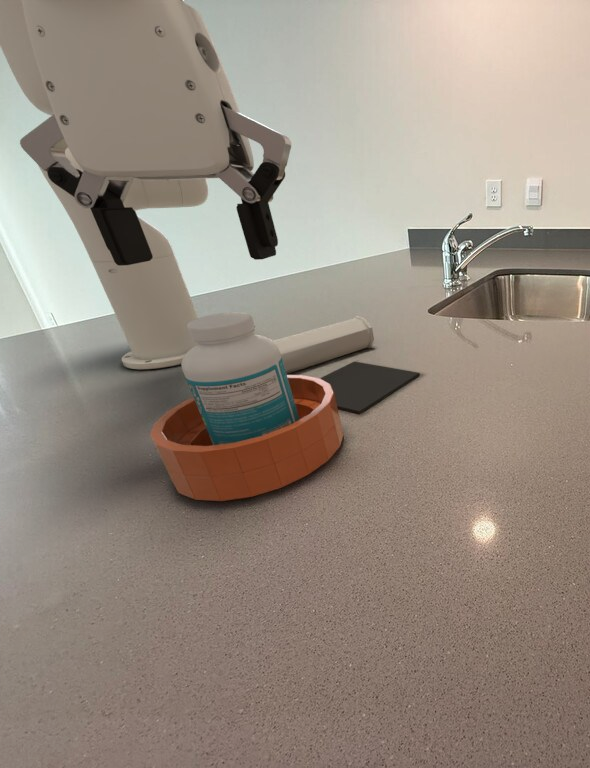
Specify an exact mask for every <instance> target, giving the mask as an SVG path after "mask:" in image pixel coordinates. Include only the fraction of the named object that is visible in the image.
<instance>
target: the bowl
mask: <svg viewBox="0 0 590 768" xmlns="http://www.w3.org/2000/svg"><path fill="white" fill-rule="evenodd" d="M287 378H288V381H289V385H290V388H291V392H292V395H293V398H294V402H295V405H296V409H297V412H298V415H299V419H300V420H298V421H296V422H294V423H293V424H291V425H289V426H286V427H284V428H281V429H279V430H276V431H273V432H271V433H268V434H266V435H263V436H259V437H255V438H251V439H247V440H243V441H239V442H235V443H227V444H219V445H213V443H212V441H211V438H210V436H209V433H208V431H207V429H206V426H205V424H204V421H203V419H202V417H201V414H200V412H199V409H198V407H197V404H196V402H195V399H194V397H193V396H192V397H190V398H188V399H185V400H184V401H182V402H181V403H179V404H177V405H175V406H174V407H172V408H170V409H168V410H167V411H166V412H165V413H164V414H163V415H161V417H159V418H158V419H157V420H156V421H155V422H154V424H153V426H152V429H151V431H150V434H149V436H150V438H151V440H152V443H153V444H154V446H155V448H156V451H157V453H158V455H159V458H160V460H161V461H162V464H163V466H164V467H165V470H166V472H167V474H168V476H169V478H170V480H171V482H172V484H173V486H174V487H175V489H176V492H177V493H178V494H181V495H183V496H185V497H188V498H190V499H193V500H195V501H211V502H214V501H215V502H226V501H232V500H238V499H239V500H240V499H245V498H253V497H255V496H259V495H262V494H265V493H268V492H271V491H275V490H279V489H282V488H283V487H285V486H288V485H290V484H292V483H294V482H297V481H299V480H300V479H302V478H304V477H306V476H309V475H310V474H312V472H314V471H316V470H317V469H318V468H320V467H321V466H323V465H324V464H325V463H327V462H328V461H329V460H330V459H331V458H332V457H333V455H334V454H335V453H336V452H337V451H338V450H339V449H340V447H341V444H342V442H343V437H344V431H343V426H342V422H341V417H340V414H339V409H338V408H337V404H336V400H335V395H334V392H333V390H332V387H331V385H330V384H329V383H327V382H325V381H324V380H322V379H320V377H315V376H309V375H303V374H287Z"/></svg>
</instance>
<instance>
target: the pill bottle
mask: <svg viewBox="0 0 590 768" xmlns="http://www.w3.org/2000/svg"><path fill="white" fill-rule="evenodd" d="M255 328H256V325H255V322H254V319H253V316H252V315H251V313H249V312H245V311H230V312H220V313H214V314H210V315H205V316H202V317H198V319H195V320H193V321H190V322H189V323H188V324H187V329H188V332H189V334H190V337H191V339H193V341H194V342H195V343H197V346H195V347H193V348H192V349H191V350H189V351H188V352H187V353H186V354H185V356H184V357H183V360H182V364H180V365H181V370H182V372H183V375H184V377H185V378H184V379H185V380H186V382H187V385H188V387H189V390H190V392H191V395H192V397H194V399H195V402H196V404H197V407H198V409H199V412H200V414H201V417H202V419H203V421H204V424H205V426H206V429H207V431H208V433H209V436H210V438H211V441H212V443H213V445H219V444H227V443H235V442H239V441H243V440H247V439H251V438H255V437H259V436H263V435H266V434H268V433H271V432H273V431H276V430H279V429H281V428H284V427H286V426H289V425H291V424H293V423H294V422H296V421H298V420H300V419H299V415H298V412H297V409H296V405H295V402H294V398H293V395H292V392H291V388H290V385H289V381H288V378H287V375H288V374H286V371H285V367H284V364H283V360H282V357H281V354H280V350H279V348H278V346H277V345H276V343H275V342H274V341H273V339H271V338H269V337H268V336H265V335H260V334H255V333H254V332H255Z"/></svg>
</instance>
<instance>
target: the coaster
mask: <svg viewBox="0 0 590 768" xmlns="http://www.w3.org/2000/svg"><path fill="white" fill-rule="evenodd" d="M420 375H421V374H420V372H418V371H412V370H405V369H400V368H395V367H394V368H393V367H390V366H389V367H388V366H383V365H376V364H371V363H365V362H359V361H352V362H350V363H348V364H346V365H344V366H342V367H340V368H338V369H336V370H334V371H332V372H330V373H327V374H326V375H324V376H322V377H319V379H322V380H324V381H325V382H327V383H329V384H330V385H331V387H332V390H333V392H334V395H335V400H336V404H337V408H338V410H342V411H345V412H349V413H354V414H359V415H361V414H362V413H364V412H365V411H367V410H369V409H371V408H372V407H373V406H375V405H377V404H378V403H379V402H381V401H382V400H385V398H387V397H390V395H391V394H393V393H395V392H396V391H398V390H399V389H401V388H402V387H404V386H405V385H407V384H408V383H410V382H412V381H413V380H415V379H416V378H418V377H419V376H420Z"/></svg>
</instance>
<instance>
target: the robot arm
mask: <svg viewBox="0 0 590 768" xmlns="http://www.w3.org/2000/svg"><path fill="white" fill-rule="evenodd" d="M185 2H186V0H0V48H1V51H2V53H3V55H4V57H5V59H6V61H7V64H8V66H9V69H10V70H11V72H12V74H13V76H14V78H15V80H16V82H17V84H18V86H19V87H20V89H21V92H23V94H24V96H25V97H26V99H27V100H28V101H29V103H31V104H32V105H33V106H34V107H35V108H36V109H37V110H39V111H41V112H42V113H43V114H46V115H48V116H49V117H48V118H47V119H45V120H44V121H42V122H41V123H39V125H38V126H35V128H33V129H32V130H31V131H29V132H28V133H26V134H25V135H24V136H23V137H21V138H20V140H19V145H20V147H21V148H22V150H23V151H24V152H25V153H26V154H27V155H28V156H29V157H30V158H31V159H32V160H33V162H35V164H36V165H37V166H38V168H39V170H40V171H41V173H42V175H43V177H44V179H45V180H46V182H47V183H48V186H50V188H51V189H52V191H53V193H54V194H55V195H56V197H57V199H58V201H59V202H60V204H61V205H62V206H63V209H64V210H65V212H66V213H67V215H68V217H69V218H70V219H69V220H71V222H72V224H73V226H74V228H75V230H76V232H77V234H78V236H79V238H80V240H81V242H82V244H83V247H84V248H85V251H86V252H87V255H88V257H89V259H90V261H91V264H92V266H93V268H94V270H95V272H96V275H97V277H98V279H99V282H100V283H101V286H102V288H103V290H104V293H105V295H106V297H107V299H108V301H109V304H110V306H111V308H112V310H113V312H114V315H115V317H116V319H117V321H118V324H119V326H120V328H121V331H122V332H123V334H124V337H125V339H126V342H127V344H128V347H129V348H130V351H128V352H127V353H124V355H123V356H122V357H121V362H122V365H123V366H124V367H125V368H127V369H130V370H131V369H132V370H153V369H154V370H155V369H163V368H168V367H174V366H175V367H176V366H180V365H181V364H182V360H183V357H184V356H185V354H186V353H187V352H188V351H189V350H191V349H192V348H193V347H195V346H197V343H195V342H194V341H193V339H191V337H190V334H189V332H188V329H187V324H188V323H189V322H190V321H193V320H195V319H198V318H199V317H198V315H197V312H196V309H195V306H194V303H193V300H192V298H191V295H190V292H189V290H188V286H187V284H186V282H185V279H184V276H183V273H182V271H181V270H182V269H181V268H180V265H179V262H178V258H177V256H176V254H175V252H174V248H173V246H172V244H171V242H170V240H169V238H167V236H166V235H165V234H164V233H163V232H162V231H161V230H159V229H158V228H157V227H156V226H154V225H152V224H151V223H150V222H148V221H146V220H145V219H144V218H143V217H141V216H139V215H138V214H137V211H141V210H149V209H178V208H179V209H180V208H194V207H199V206H202V205H203V204H205V203H206V202H207V200H208V199H209V184H208V179H220V180H221V181H222V182H223V183H224V184H225V185H226V186H227V187H229V188H230V189H231V190H232V191H233V192H234V193H235V194H236V195H238V197H240V201H241V203H237V204H236V212H237V215H238V219H239V223H240V227H241V229H242V233H243V236H244V240H245V244H246V246H247V251H248V254H249V257H250V258H251V259H253V260H255V261H257V260H258V261H259V260H265V259H268V258H271V257H275V256H276V255H277V249H276V247H278V244H279V239H278V234H277V231H276V227H275V224H274V219H273V216H272V212H271V208H270V204H269V203H271V202H272V201H273V200H274V194H275V193H276V191H277V190H278V189H279V187H280V185H281V184H282V183H283V181H284V179H285V178H286V167H287V165H288V162H289V158H290V154H291V149H292V140H291V139H290V138H289V137H288V136H286V135H285V134H283V133H281V132H279V131H276V130H275V129H273V128H271V127H269V126H266V125H265V124H263V123H261V122H258V121H257V120H255V119H252V118H251V117H248V116H246V115H244V114H242V113H241V112H240V109H239V106H238V103H237V100H236V97H235V94H234V91H233V89H232V87H231V83H230V81H229V78H228V76H227V73H226V71H225V67H224V66H223V62H222V61H221V58H220V56H219V53H218V51H217V48H216V46H215V44H214V40H213V39H212V36H211V34H210V32H209V30H208V27H207V26H206V23H205V21H204V19H203V17H202V15H201V13H200V12H199V11H198V10H197V9H196V8H194V7H193V6H190V5H189V4H187V3H185ZM249 140H252V141H254V142H255V143H258V144H259V145H260V146H261V147H262V149H263V154H262V157H263V159H262V162H261V163H260V164H259V166H258V167H257V169H256V171H255V172H252V171H253V170H254V167H255V162H254V155H253V151H252V147H251V143H250V141H249Z"/></svg>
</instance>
